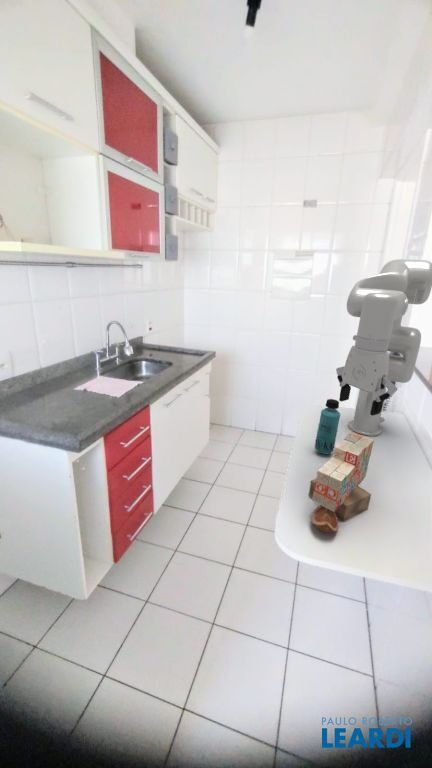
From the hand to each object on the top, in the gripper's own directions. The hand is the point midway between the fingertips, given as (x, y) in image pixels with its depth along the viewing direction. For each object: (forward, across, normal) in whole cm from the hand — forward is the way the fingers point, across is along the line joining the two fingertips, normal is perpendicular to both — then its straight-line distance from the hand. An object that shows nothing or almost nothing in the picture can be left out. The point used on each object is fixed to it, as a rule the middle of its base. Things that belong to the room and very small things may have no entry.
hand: (358, 407), depth 91 cm
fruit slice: (+27, +8, -16) cm, 32 cm away
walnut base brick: (+27, +3, -6) cm, 27 cm away
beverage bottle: (+27, -17, +11) cm, 34 cm away
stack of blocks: (+22, +3, -6) cm, 23 cm away
